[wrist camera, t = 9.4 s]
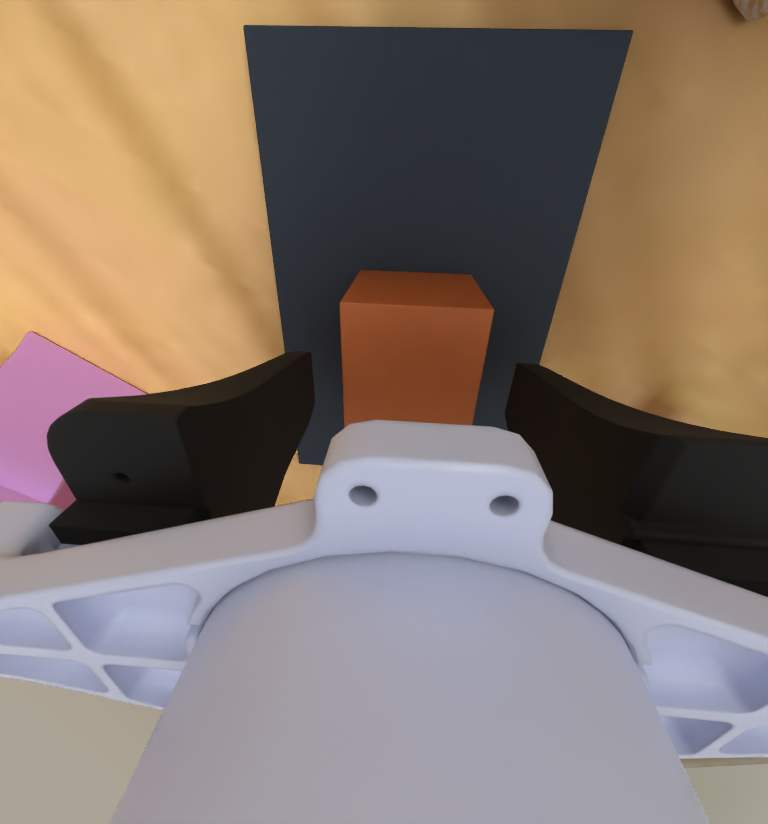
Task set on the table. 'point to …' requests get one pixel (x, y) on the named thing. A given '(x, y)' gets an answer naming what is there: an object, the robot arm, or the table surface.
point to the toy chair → (43, 415)
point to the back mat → (426, 176)
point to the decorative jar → (752, 8)
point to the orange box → (413, 347)
